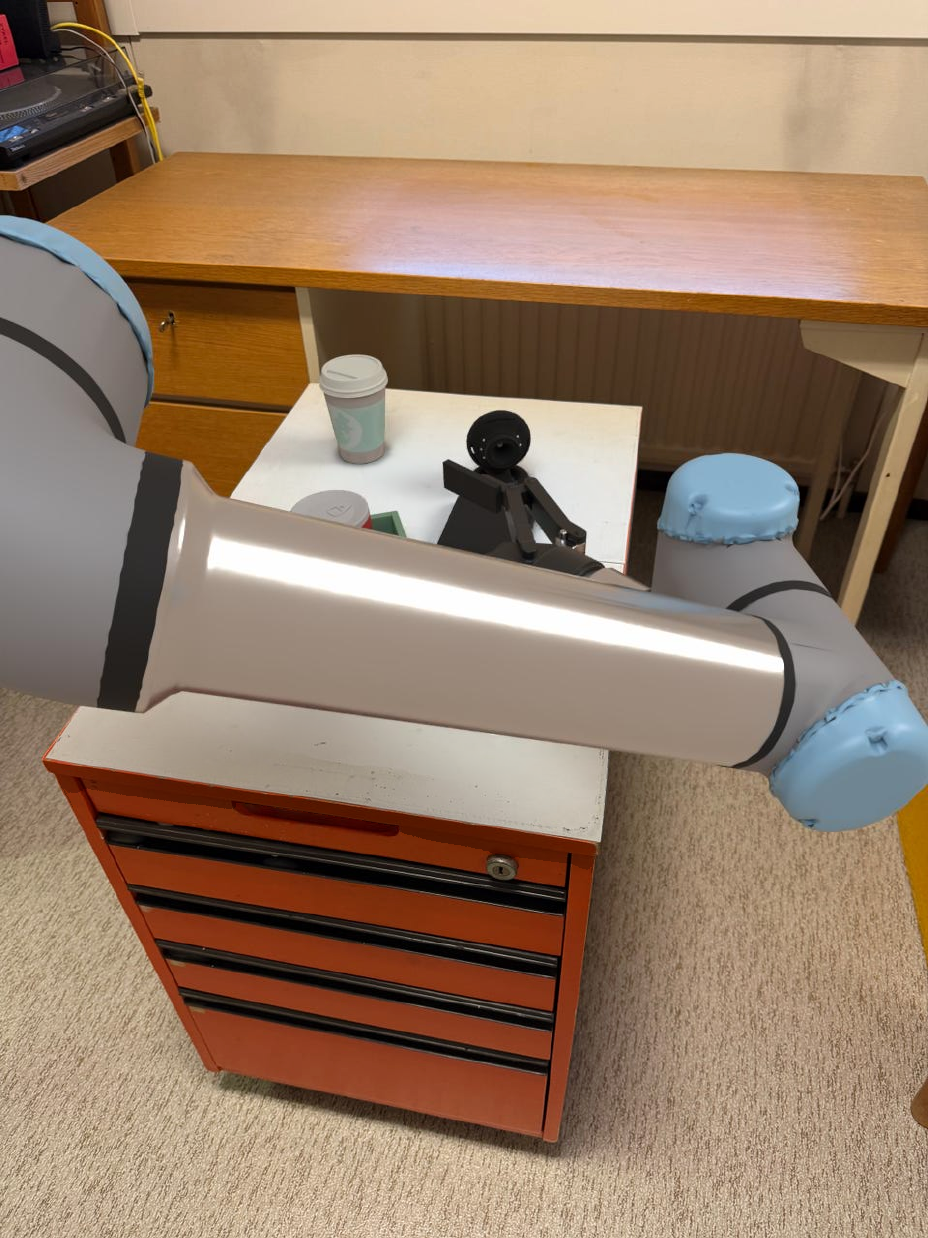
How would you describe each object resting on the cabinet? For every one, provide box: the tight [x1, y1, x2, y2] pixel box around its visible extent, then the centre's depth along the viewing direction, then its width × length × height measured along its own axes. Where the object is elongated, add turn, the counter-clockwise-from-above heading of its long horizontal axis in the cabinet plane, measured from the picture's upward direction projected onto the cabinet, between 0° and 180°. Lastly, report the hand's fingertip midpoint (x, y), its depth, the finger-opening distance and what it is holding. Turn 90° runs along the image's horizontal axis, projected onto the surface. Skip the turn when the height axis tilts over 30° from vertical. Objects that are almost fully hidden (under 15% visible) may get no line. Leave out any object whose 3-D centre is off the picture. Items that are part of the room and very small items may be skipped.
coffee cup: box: [318, 354, 389, 465], centre depth 112 cm, size 8×8×12 cm
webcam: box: [465, 409, 532, 485], centre depth 106 cm, size 8×8×10 cm
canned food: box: [290, 489, 372, 530], centre depth 89 cm, size 8×8×11 cm
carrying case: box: [436, 495, 536, 555], centre depth 99 cm, size 11×3×15 cm
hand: (390, 504), depth 77 cm, fingers open, 13 cm apart
